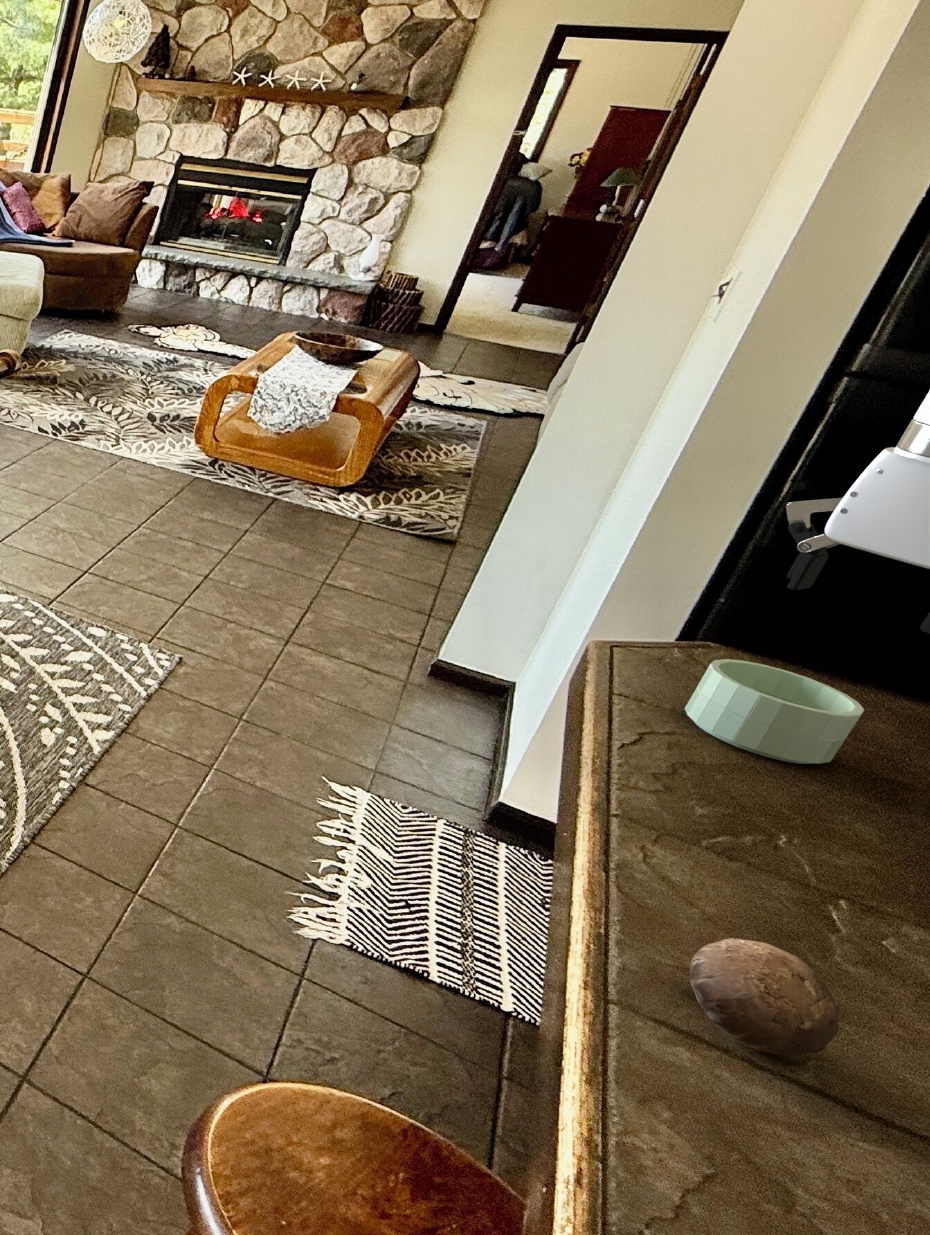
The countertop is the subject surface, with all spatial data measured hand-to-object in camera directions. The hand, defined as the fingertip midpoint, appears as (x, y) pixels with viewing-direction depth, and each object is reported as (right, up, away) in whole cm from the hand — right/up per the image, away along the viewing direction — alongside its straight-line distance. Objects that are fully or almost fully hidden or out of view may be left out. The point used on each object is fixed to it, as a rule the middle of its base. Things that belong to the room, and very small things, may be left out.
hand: (861, 608), depth 105 cm
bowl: (-2, -15, +8) cm, 17 cm away
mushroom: (-47, -28, -31) cm, 63 cm away
